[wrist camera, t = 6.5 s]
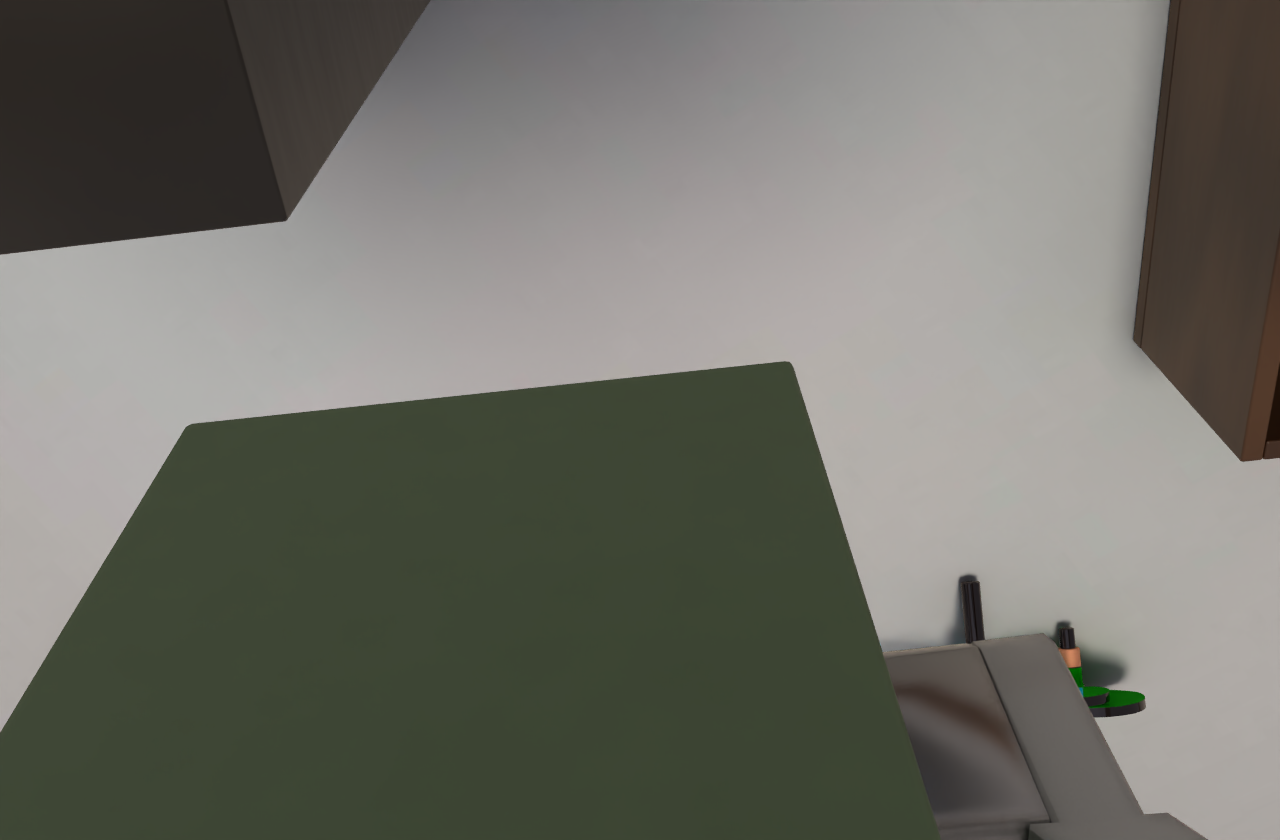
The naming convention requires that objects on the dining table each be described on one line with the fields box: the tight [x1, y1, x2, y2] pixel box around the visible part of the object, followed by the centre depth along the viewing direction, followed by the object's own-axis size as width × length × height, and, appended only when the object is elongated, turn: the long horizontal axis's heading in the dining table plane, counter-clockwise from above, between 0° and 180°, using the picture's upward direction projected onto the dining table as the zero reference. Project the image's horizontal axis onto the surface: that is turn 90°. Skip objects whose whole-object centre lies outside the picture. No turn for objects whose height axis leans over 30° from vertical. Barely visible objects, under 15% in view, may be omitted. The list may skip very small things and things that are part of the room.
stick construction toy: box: [961, 581, 1146, 717], centre depth 50 cm, size 12×7×8 cm
